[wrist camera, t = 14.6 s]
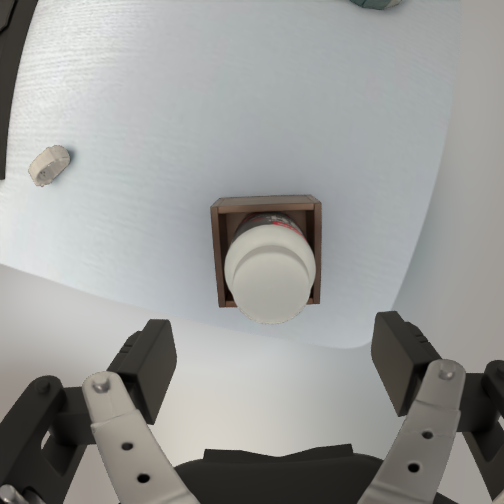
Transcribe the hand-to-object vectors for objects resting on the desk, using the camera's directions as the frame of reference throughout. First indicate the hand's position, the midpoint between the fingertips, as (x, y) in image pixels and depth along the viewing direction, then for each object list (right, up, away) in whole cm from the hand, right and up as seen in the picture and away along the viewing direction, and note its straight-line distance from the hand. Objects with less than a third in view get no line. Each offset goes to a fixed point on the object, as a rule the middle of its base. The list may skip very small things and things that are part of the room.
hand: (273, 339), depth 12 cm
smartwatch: (-18, +11, +12) cm, 25 cm away
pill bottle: (0, +4, +14) cm, 14 cm away
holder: (0, +4, +14) cm, 15 cm away
